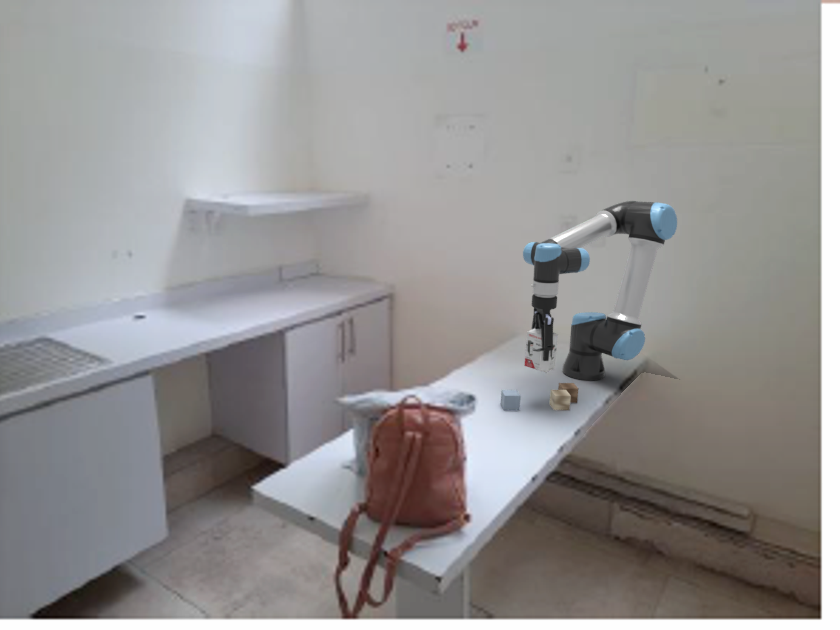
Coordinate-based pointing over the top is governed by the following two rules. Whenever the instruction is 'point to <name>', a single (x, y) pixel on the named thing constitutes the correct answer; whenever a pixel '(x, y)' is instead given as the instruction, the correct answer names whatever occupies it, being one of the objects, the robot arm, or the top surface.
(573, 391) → the cube walnut
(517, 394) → the cube slate
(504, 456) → the top surface
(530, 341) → the ink box
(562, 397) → the cube maple
